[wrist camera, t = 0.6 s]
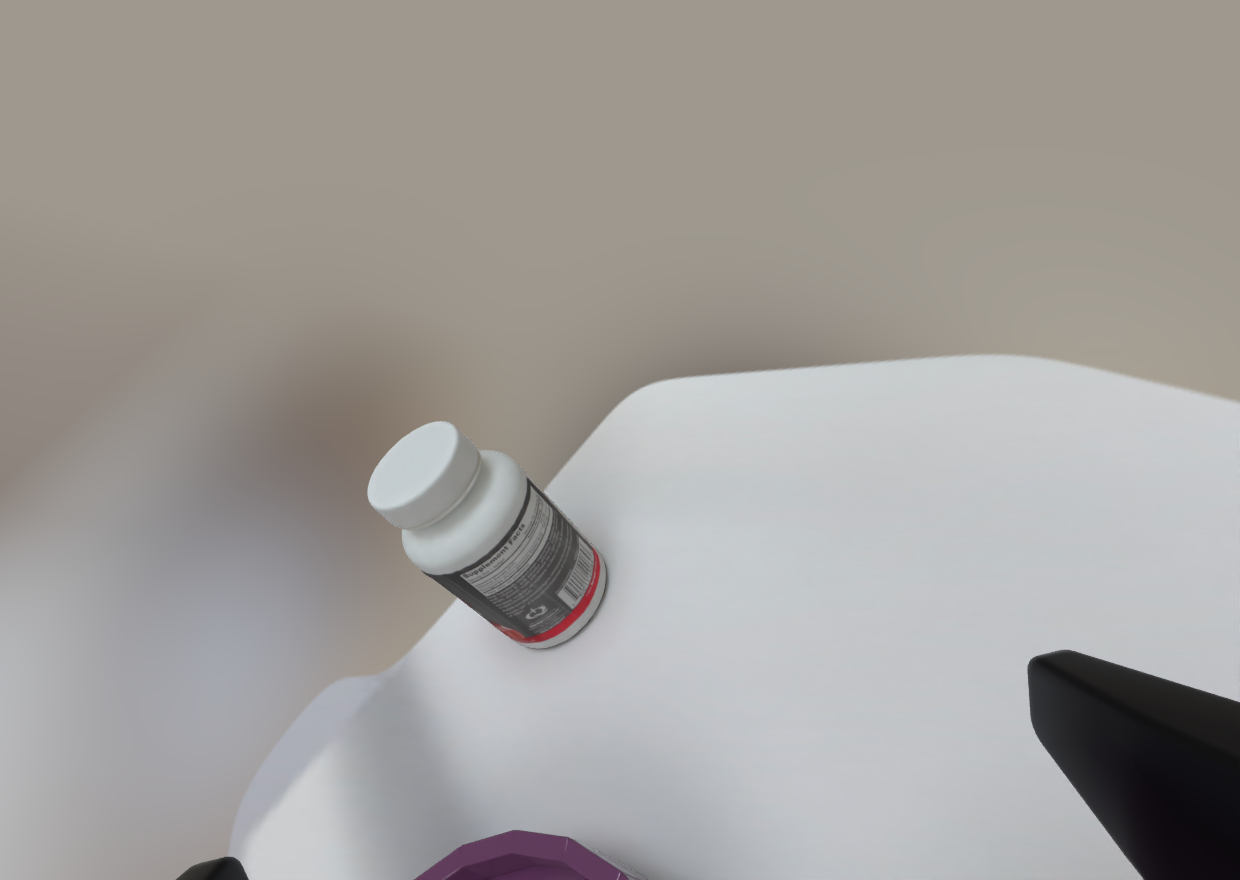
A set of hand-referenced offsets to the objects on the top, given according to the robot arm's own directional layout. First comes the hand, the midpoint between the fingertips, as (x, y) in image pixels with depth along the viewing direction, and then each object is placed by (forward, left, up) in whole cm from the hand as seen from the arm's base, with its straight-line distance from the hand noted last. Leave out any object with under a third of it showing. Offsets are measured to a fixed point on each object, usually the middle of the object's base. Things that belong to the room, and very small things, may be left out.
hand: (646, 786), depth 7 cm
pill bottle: (+17, -1, -14) cm, 22 cm away
